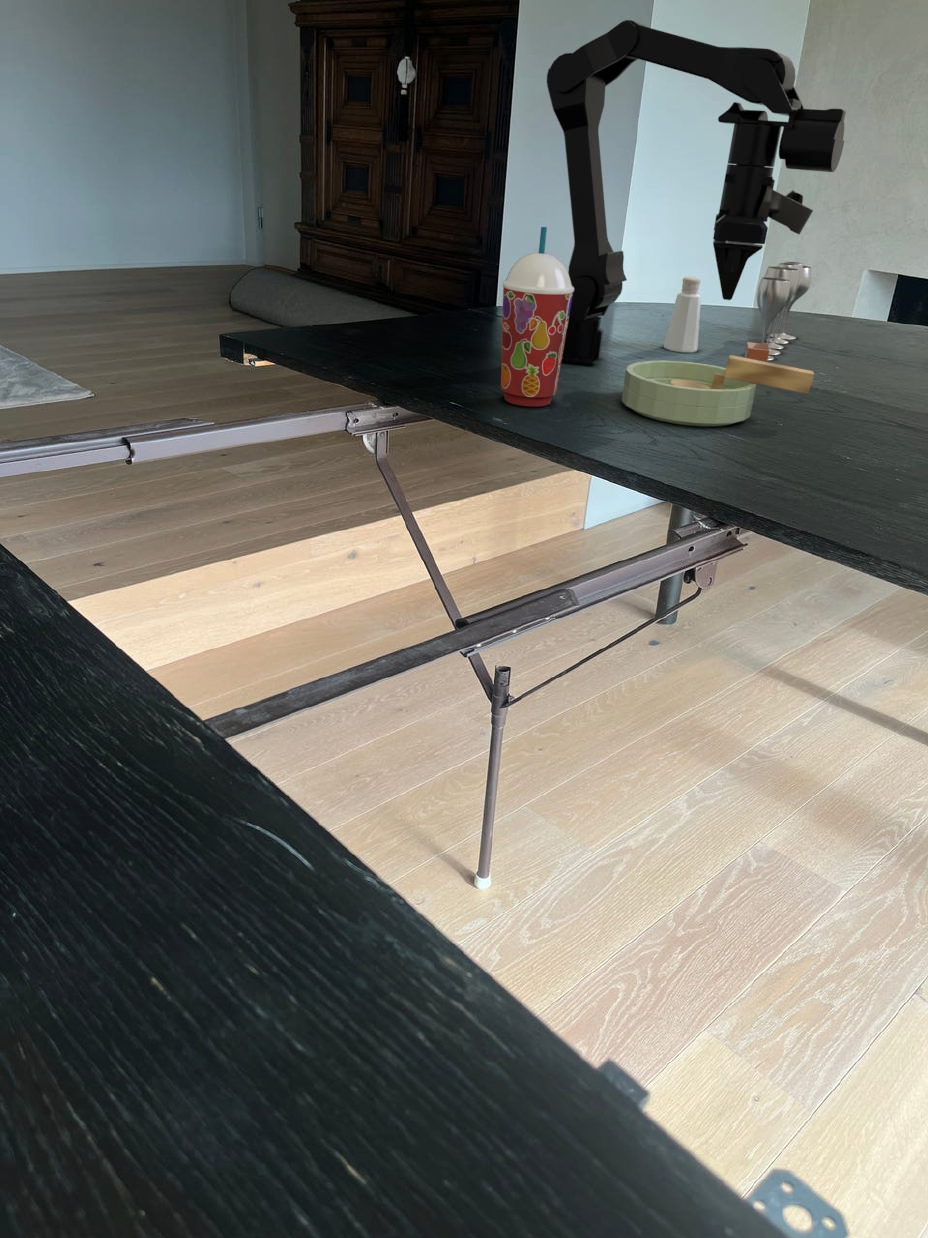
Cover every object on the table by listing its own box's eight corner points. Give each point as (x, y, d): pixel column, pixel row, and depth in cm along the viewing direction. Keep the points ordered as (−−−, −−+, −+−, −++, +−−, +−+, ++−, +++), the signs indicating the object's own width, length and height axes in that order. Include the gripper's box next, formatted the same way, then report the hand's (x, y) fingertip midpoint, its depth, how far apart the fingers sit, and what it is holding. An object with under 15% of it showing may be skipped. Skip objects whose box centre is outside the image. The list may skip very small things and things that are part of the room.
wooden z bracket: (664, 405, 117) (678, 349, 114) (666, 395, 121) (679, 342, 118) (798, 432, 114) (815, 377, 111) (795, 421, 119) (812, 368, 116)
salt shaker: (682, 353, 152) (694, 280, 147) (656, 346, 155) (667, 275, 150) (704, 351, 155) (716, 279, 150) (678, 344, 158) (689, 274, 153)
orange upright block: (742, 377, 139) (748, 347, 137) (741, 370, 143) (747, 341, 141) (763, 379, 138) (769, 350, 136) (762, 372, 143) (768, 344, 141)
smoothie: (568, 398, 120) (587, 228, 111) (551, 414, 113) (571, 233, 104) (504, 389, 123) (519, 221, 113) (484, 403, 115) (498, 225, 106)
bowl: (615, 418, 113) (621, 380, 111) (627, 389, 127) (632, 355, 125) (750, 435, 111) (758, 396, 109) (747, 404, 124) (754, 369, 122)
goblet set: (775, 362, 150) (794, 273, 144) (738, 356, 152) (756, 269, 146) (801, 336, 173) (818, 259, 167) (768, 332, 175) (784, 255, 169)
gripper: (823, 172, 111) (793, 311, 118) (810, 169, 127) (784, 291, 134) (725, 164, 113) (702, 302, 120) (725, 163, 129) (704, 283, 136)
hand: (726, 294), depth 128 cm, fingers open, 9 cm apart
